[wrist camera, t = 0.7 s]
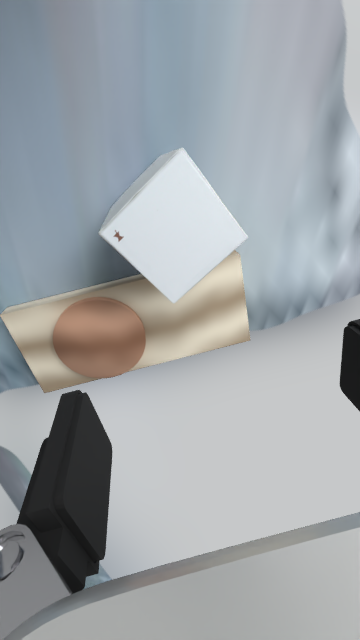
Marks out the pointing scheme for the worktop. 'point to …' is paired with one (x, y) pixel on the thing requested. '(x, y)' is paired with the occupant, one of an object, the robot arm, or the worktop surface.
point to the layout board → (127, 326)
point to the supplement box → (172, 225)
